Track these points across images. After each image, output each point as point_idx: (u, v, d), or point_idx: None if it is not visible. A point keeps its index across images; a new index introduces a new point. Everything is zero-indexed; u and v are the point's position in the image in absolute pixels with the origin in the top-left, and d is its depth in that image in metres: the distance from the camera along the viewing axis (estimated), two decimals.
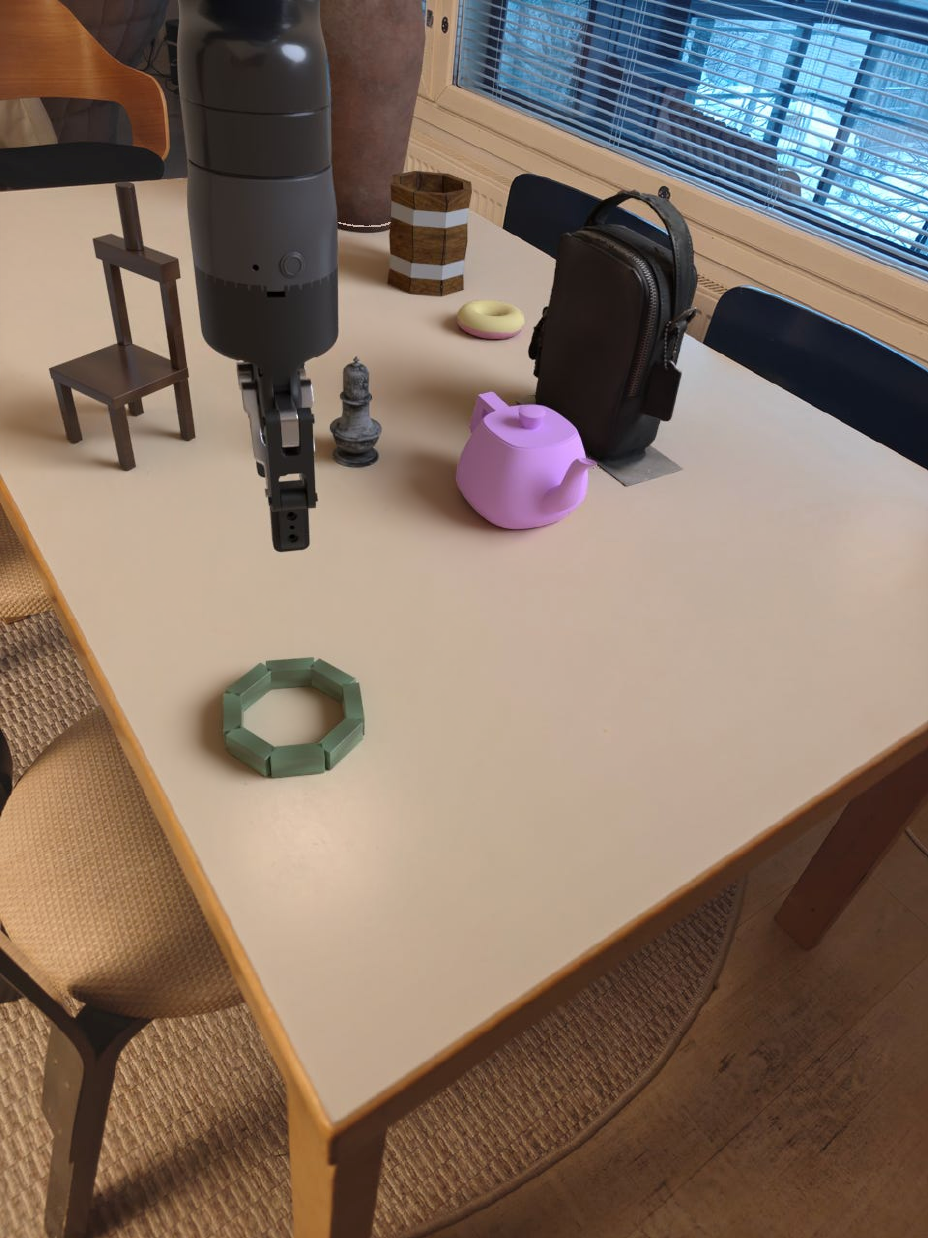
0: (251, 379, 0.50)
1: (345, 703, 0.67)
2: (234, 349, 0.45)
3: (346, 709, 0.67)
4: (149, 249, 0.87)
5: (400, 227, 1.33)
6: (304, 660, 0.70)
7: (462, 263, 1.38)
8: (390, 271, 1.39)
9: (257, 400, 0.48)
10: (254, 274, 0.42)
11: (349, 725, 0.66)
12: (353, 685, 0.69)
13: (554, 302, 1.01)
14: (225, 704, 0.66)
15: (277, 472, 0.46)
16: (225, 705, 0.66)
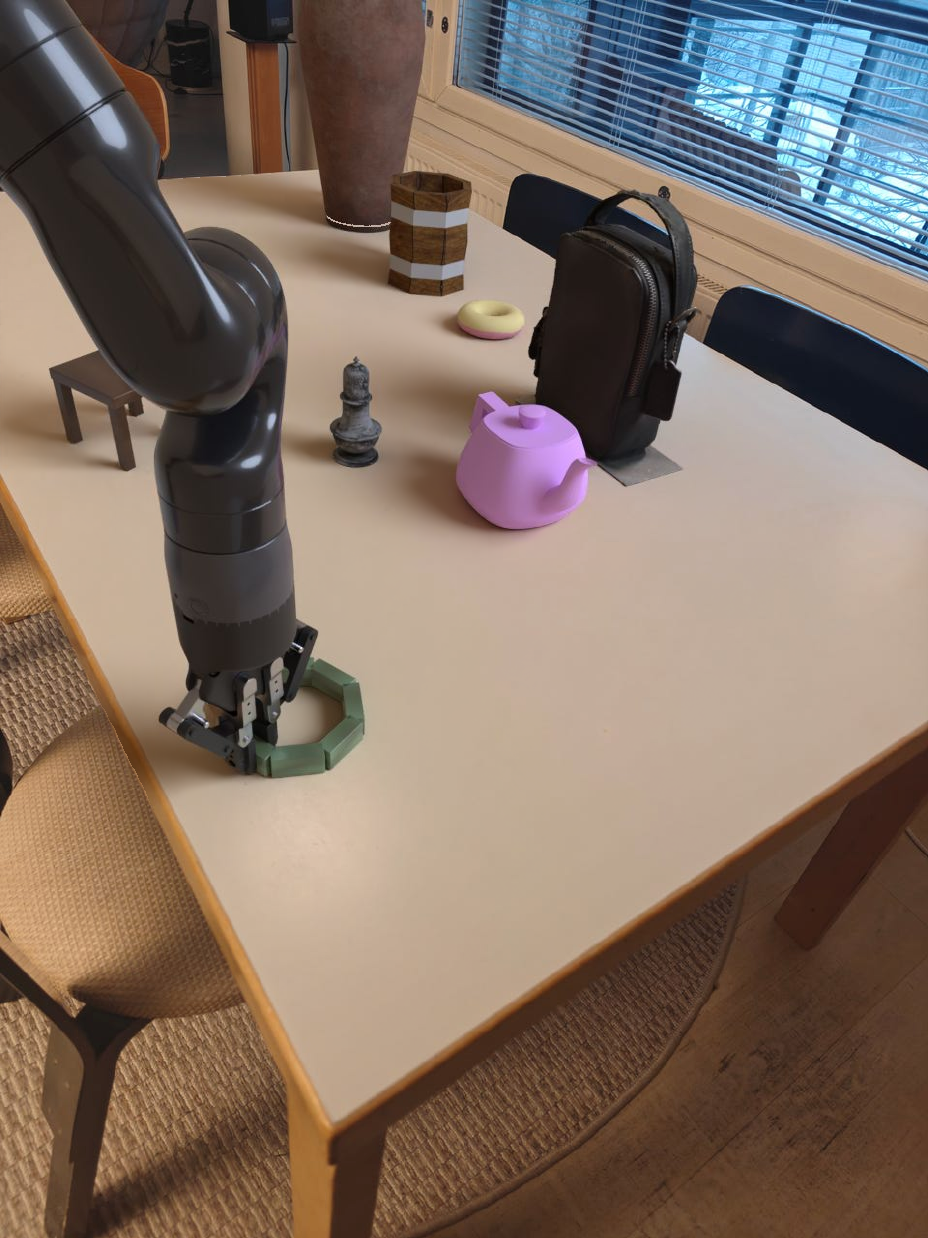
0: None
1: (345, 703, 0.67)
2: None
3: (346, 709, 0.67)
4: None
5: (400, 228, 1.33)
6: None
7: (462, 263, 1.38)
8: (390, 271, 1.39)
9: None
10: (176, 599, 0.51)
11: (349, 725, 0.66)
12: (353, 685, 0.69)
13: (554, 302, 1.01)
14: None
15: None
16: None
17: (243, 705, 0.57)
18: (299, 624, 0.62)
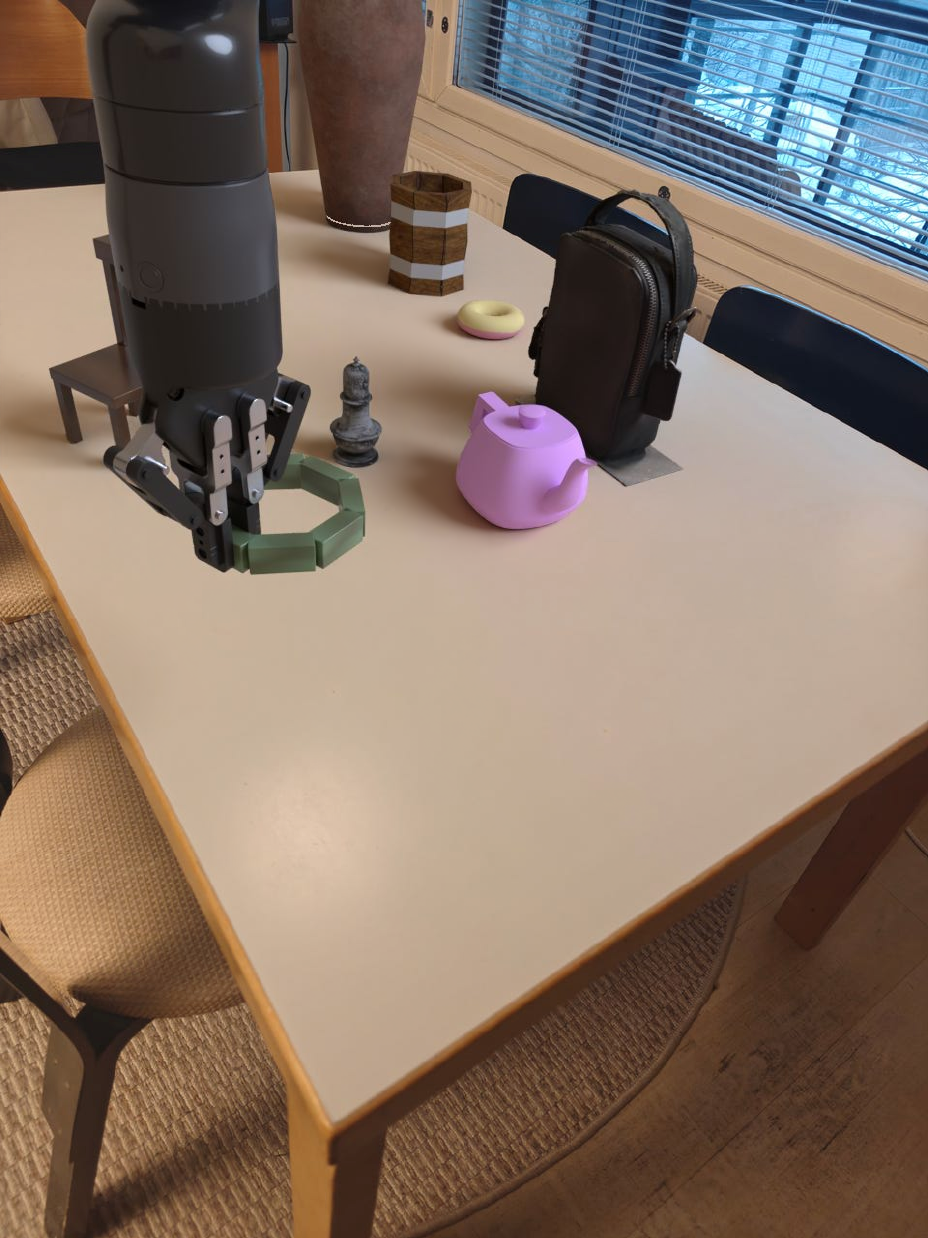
0: None
1: (341, 497, 0.55)
2: None
3: (343, 502, 0.54)
4: None
5: (400, 227, 1.33)
6: (292, 456, 0.58)
7: (462, 263, 1.38)
8: (390, 271, 1.39)
9: None
10: (122, 275, 0.39)
11: (347, 517, 0.53)
12: (351, 480, 0.56)
13: (554, 302, 1.01)
14: None
15: (141, 496, 0.45)
16: None
17: (214, 455, 0.45)
18: (287, 378, 0.50)
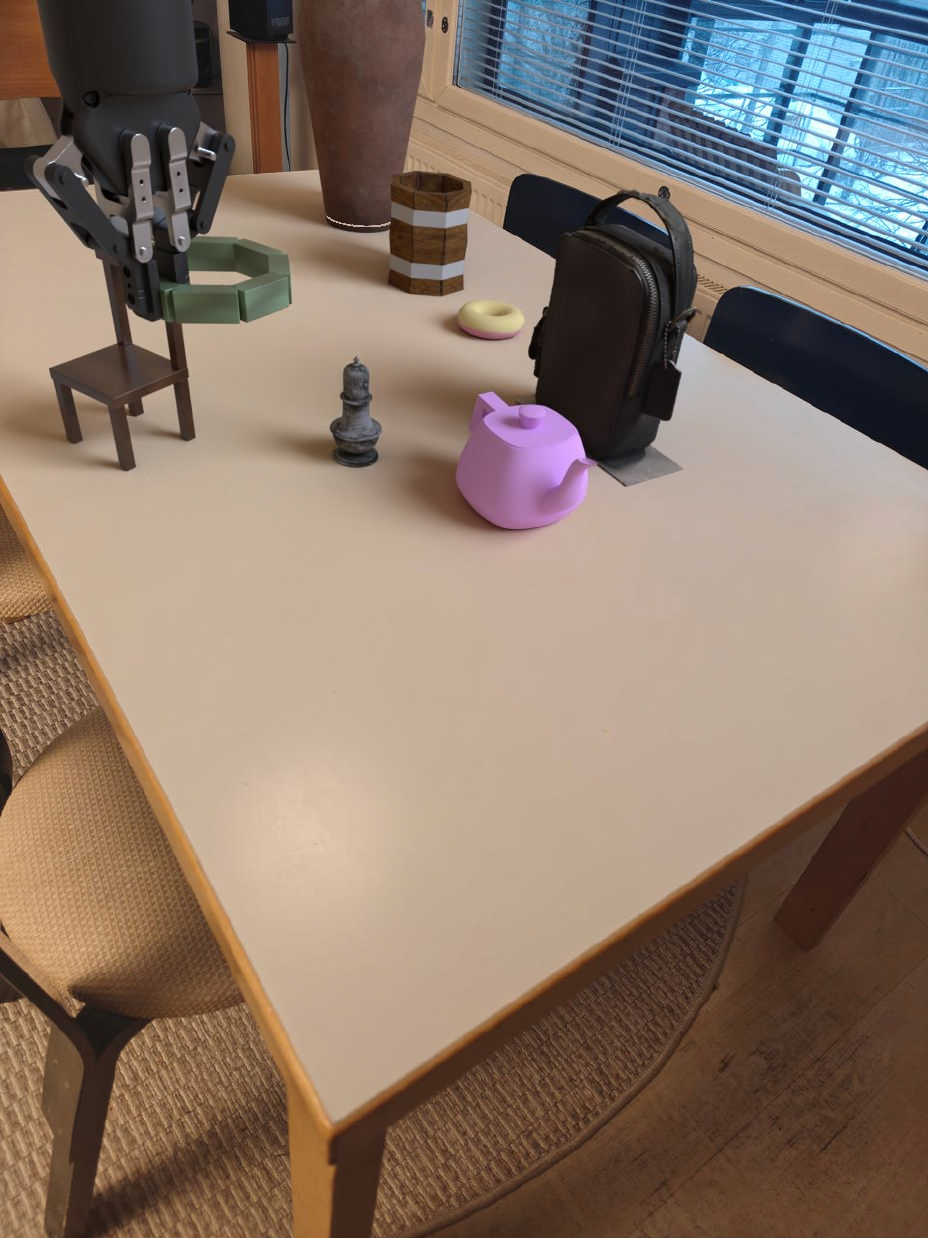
0: None
1: (269, 264, 0.57)
2: (48, 61, 0.45)
3: (269, 268, 0.57)
4: None
5: (400, 228, 1.33)
6: (226, 237, 0.60)
7: (462, 263, 1.38)
8: (390, 271, 1.39)
9: None
10: None
11: (271, 277, 0.55)
12: (281, 255, 0.59)
13: (554, 302, 1.01)
14: None
15: (65, 217, 0.48)
16: None
17: (134, 178, 0.47)
18: None
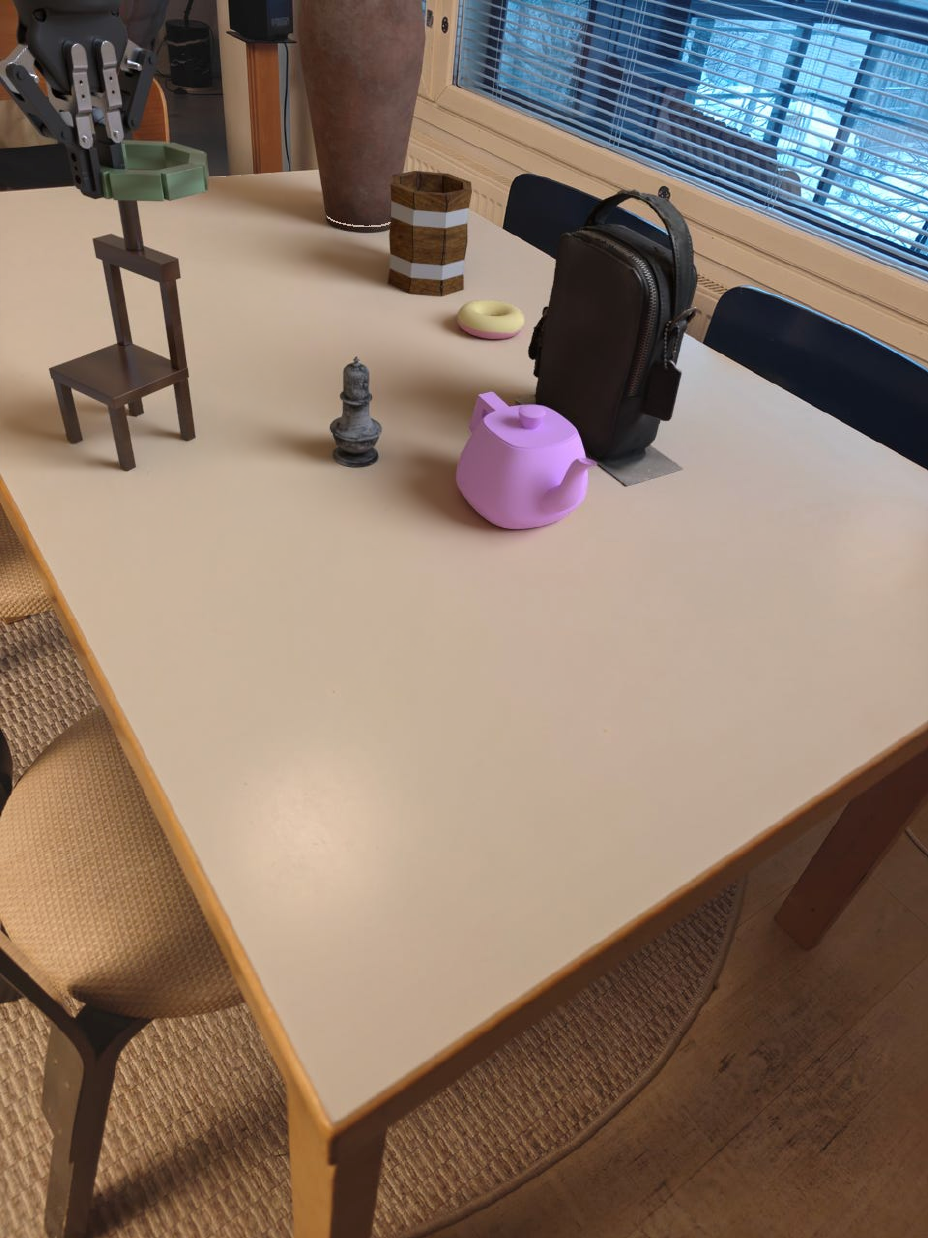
0: None
1: (189, 159, 0.73)
2: None
3: (189, 160, 0.72)
4: (149, 249, 0.87)
5: (400, 228, 1.33)
6: (158, 141, 0.76)
7: (462, 263, 1.38)
8: (390, 271, 1.39)
9: None
10: None
11: (189, 166, 0.71)
12: (200, 153, 0.74)
13: (554, 302, 1.01)
14: None
15: (23, 109, 0.63)
16: None
17: (75, 79, 0.63)
18: None
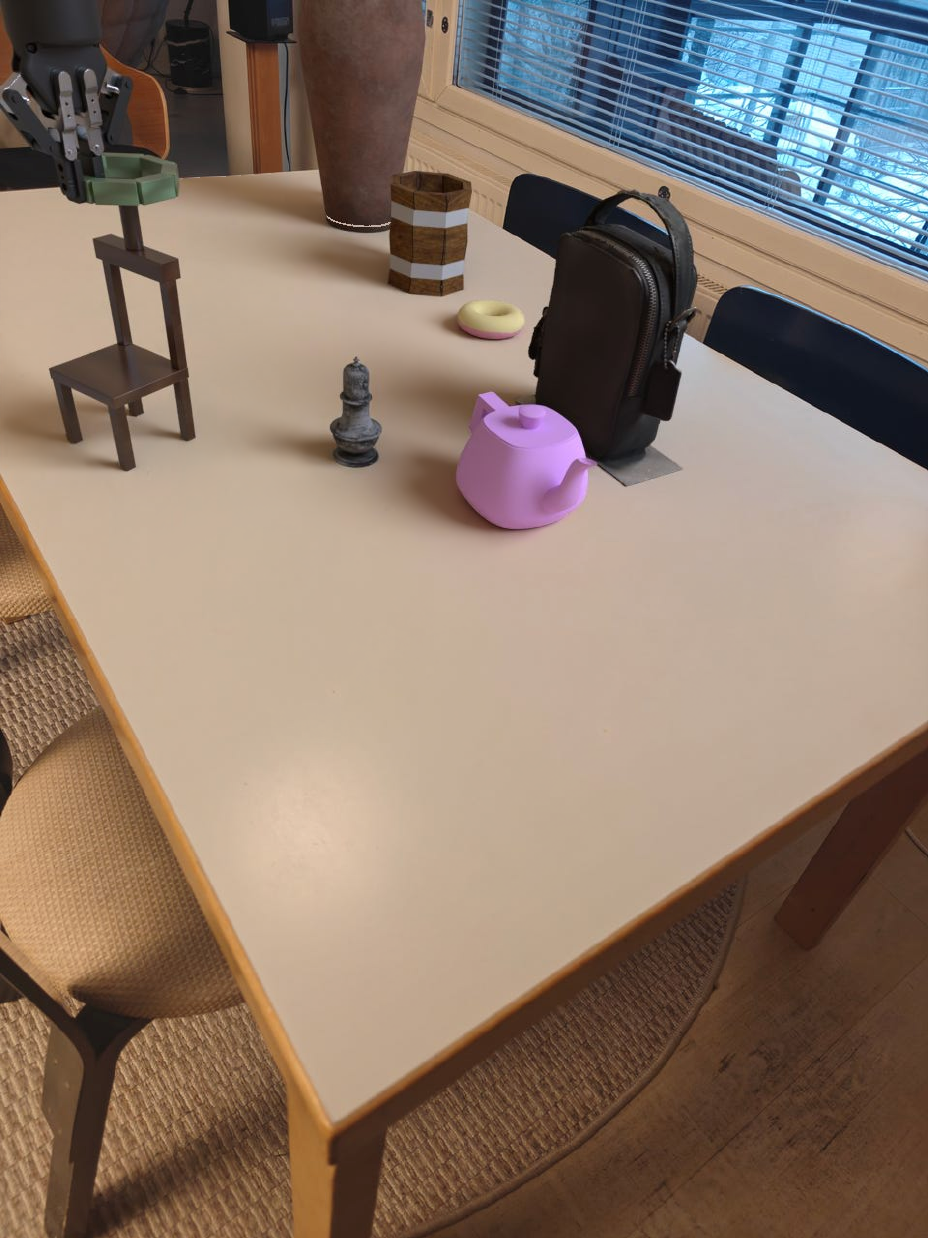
0: None
1: (162, 169, 0.83)
2: (4, 24, 0.71)
3: (161, 170, 0.83)
4: (149, 249, 0.87)
5: (400, 227, 1.33)
6: (135, 154, 0.86)
7: (462, 263, 1.38)
8: (390, 271, 1.39)
9: None
10: None
11: (161, 175, 0.82)
12: (171, 164, 0.85)
13: (554, 302, 1.01)
14: None
15: (17, 127, 0.74)
16: None
17: (61, 101, 0.73)
18: None
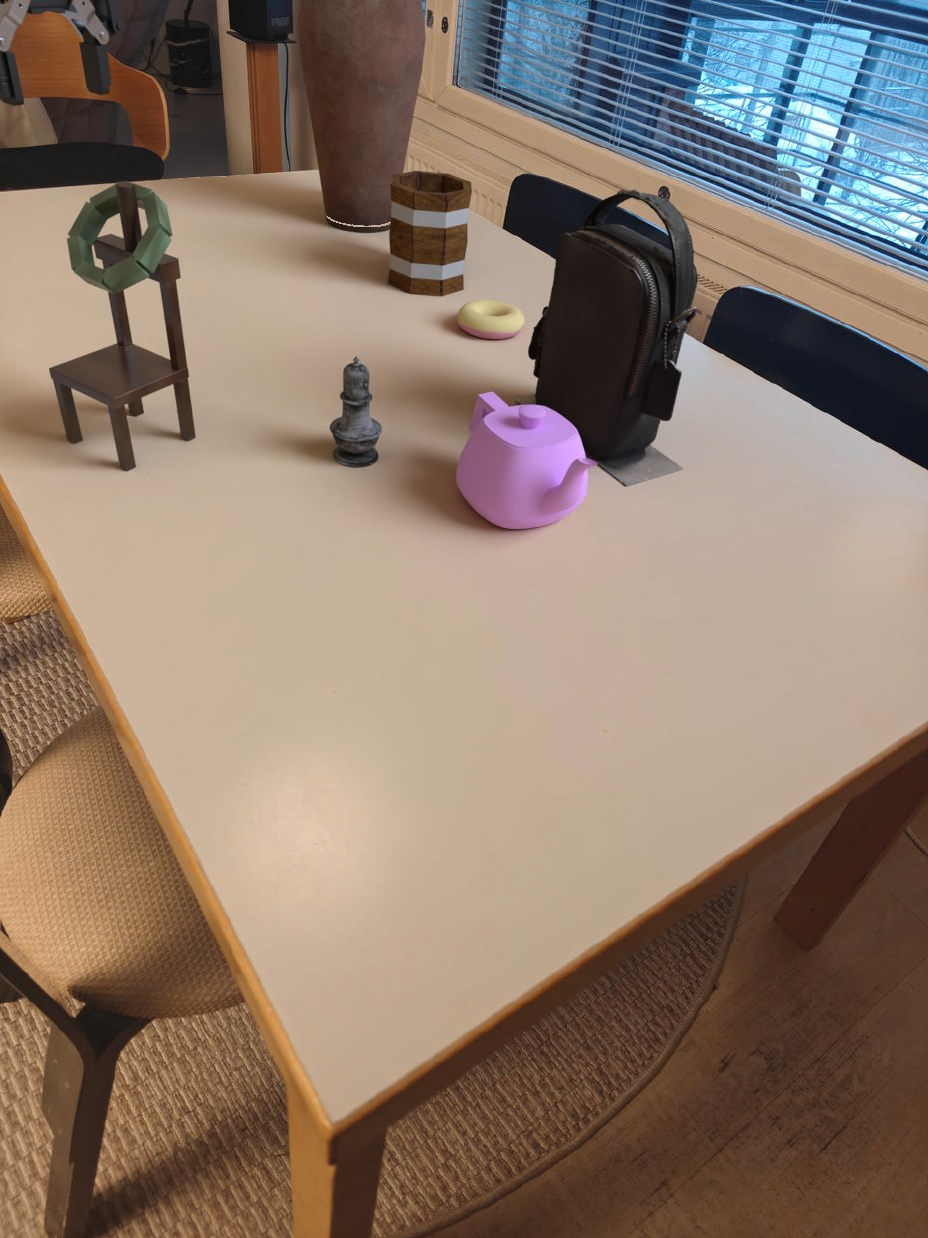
0: None
1: (146, 214, 0.84)
2: None
3: (147, 219, 0.84)
4: None
5: (400, 228, 1.33)
6: (114, 186, 0.86)
7: (462, 263, 1.38)
8: (390, 271, 1.39)
9: None
10: None
11: (150, 233, 0.83)
12: (150, 196, 0.84)
13: (554, 302, 1.01)
14: (69, 246, 0.86)
15: None
16: (69, 247, 0.86)
17: None
18: None
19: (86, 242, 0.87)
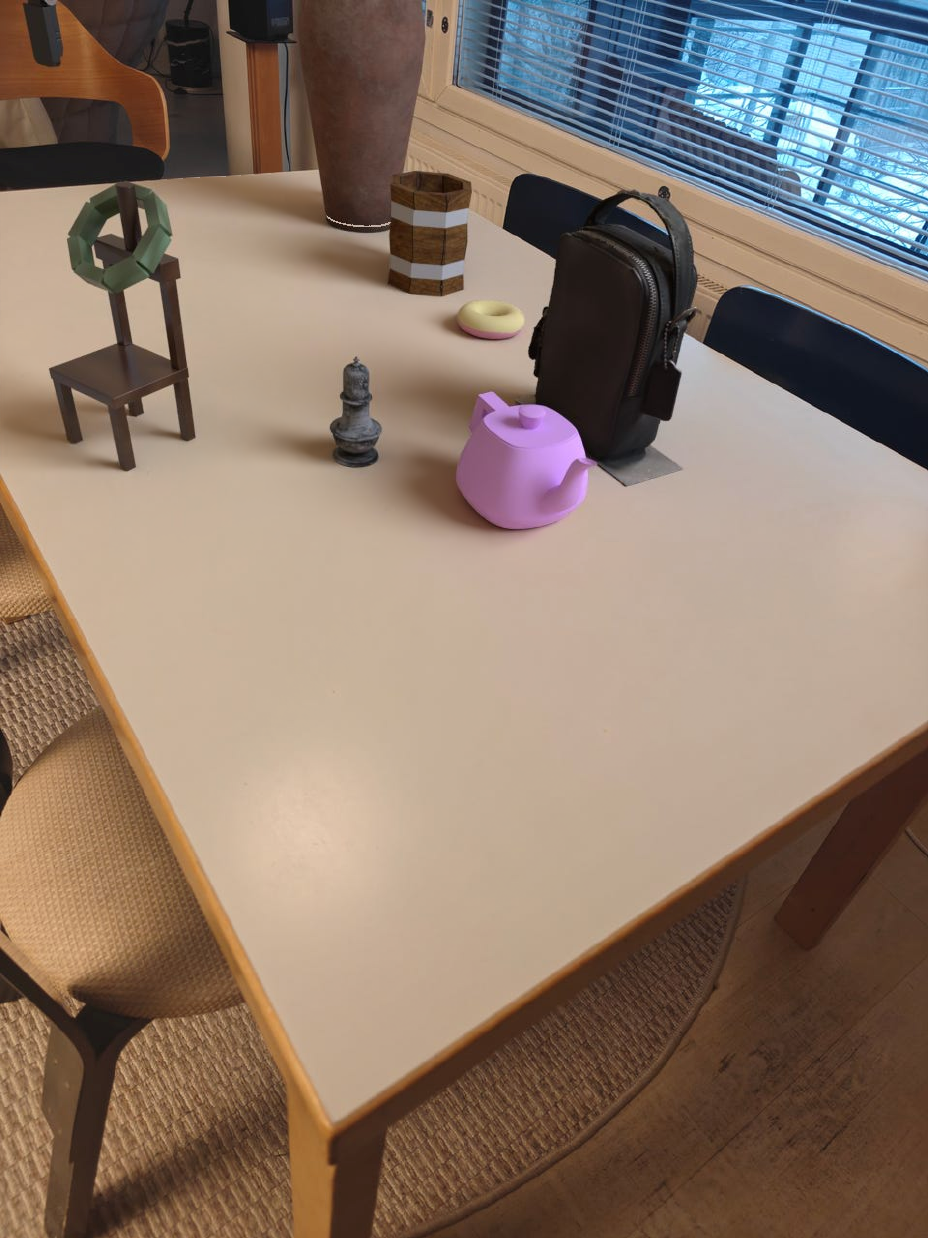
0: None
1: (146, 214, 0.84)
2: None
3: (147, 219, 0.84)
4: None
5: (400, 228, 1.33)
6: (114, 186, 0.86)
7: (462, 263, 1.38)
8: (390, 271, 1.39)
9: None
10: None
11: (150, 233, 0.83)
12: (150, 196, 0.84)
13: (554, 302, 1.01)
14: (69, 246, 0.86)
15: None
16: (69, 247, 0.86)
17: None
18: None
19: (86, 242, 0.87)
